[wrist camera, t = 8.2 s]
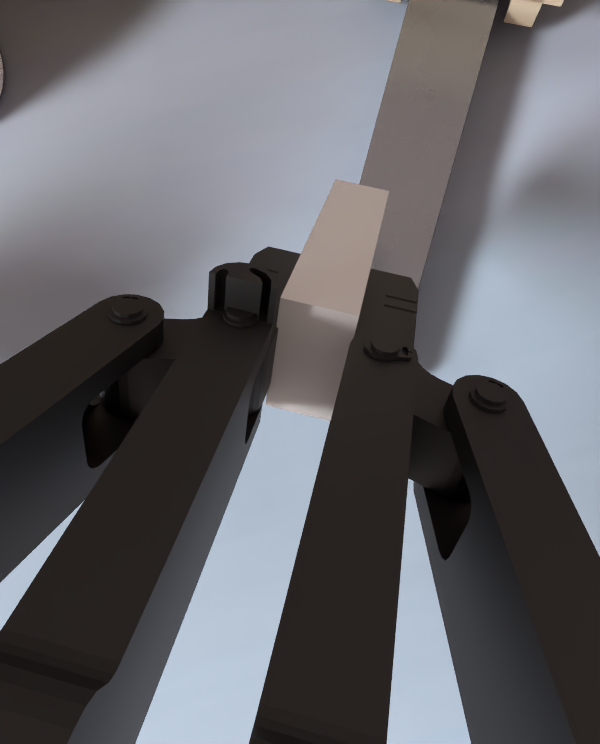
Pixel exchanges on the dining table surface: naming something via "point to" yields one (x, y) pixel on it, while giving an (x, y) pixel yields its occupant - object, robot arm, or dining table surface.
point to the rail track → (423, 124)
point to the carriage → (522, 10)
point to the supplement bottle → (1, 74)
